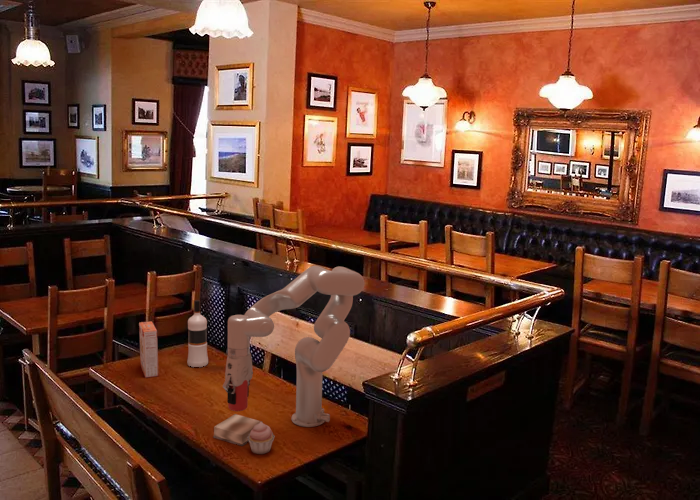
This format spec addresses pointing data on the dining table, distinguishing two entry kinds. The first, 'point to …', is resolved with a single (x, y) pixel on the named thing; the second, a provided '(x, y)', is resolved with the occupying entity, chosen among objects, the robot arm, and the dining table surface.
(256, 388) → the dining table surface
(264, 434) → the cupcake
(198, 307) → the vodka
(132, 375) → the dining table surface
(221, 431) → the stand
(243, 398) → the beer can
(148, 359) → the cracker box
